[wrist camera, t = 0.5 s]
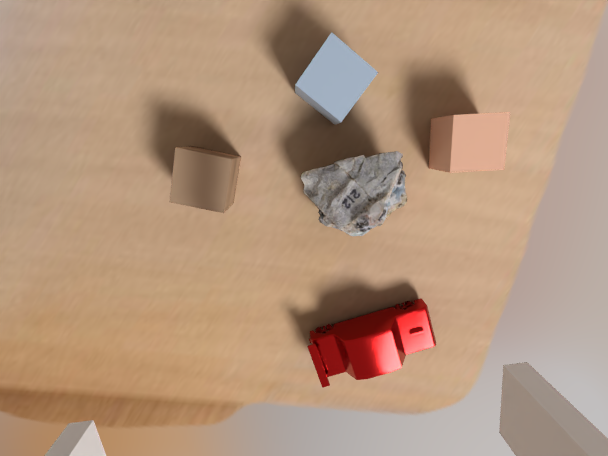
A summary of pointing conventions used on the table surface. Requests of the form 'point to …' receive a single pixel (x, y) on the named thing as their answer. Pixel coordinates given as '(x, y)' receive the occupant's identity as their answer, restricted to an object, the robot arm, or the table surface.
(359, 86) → the slate-blue cube
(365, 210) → the mineral specimen
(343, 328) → the toy car
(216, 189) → the walnut cube
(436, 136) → the salmon-pink cube
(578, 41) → the table surface
